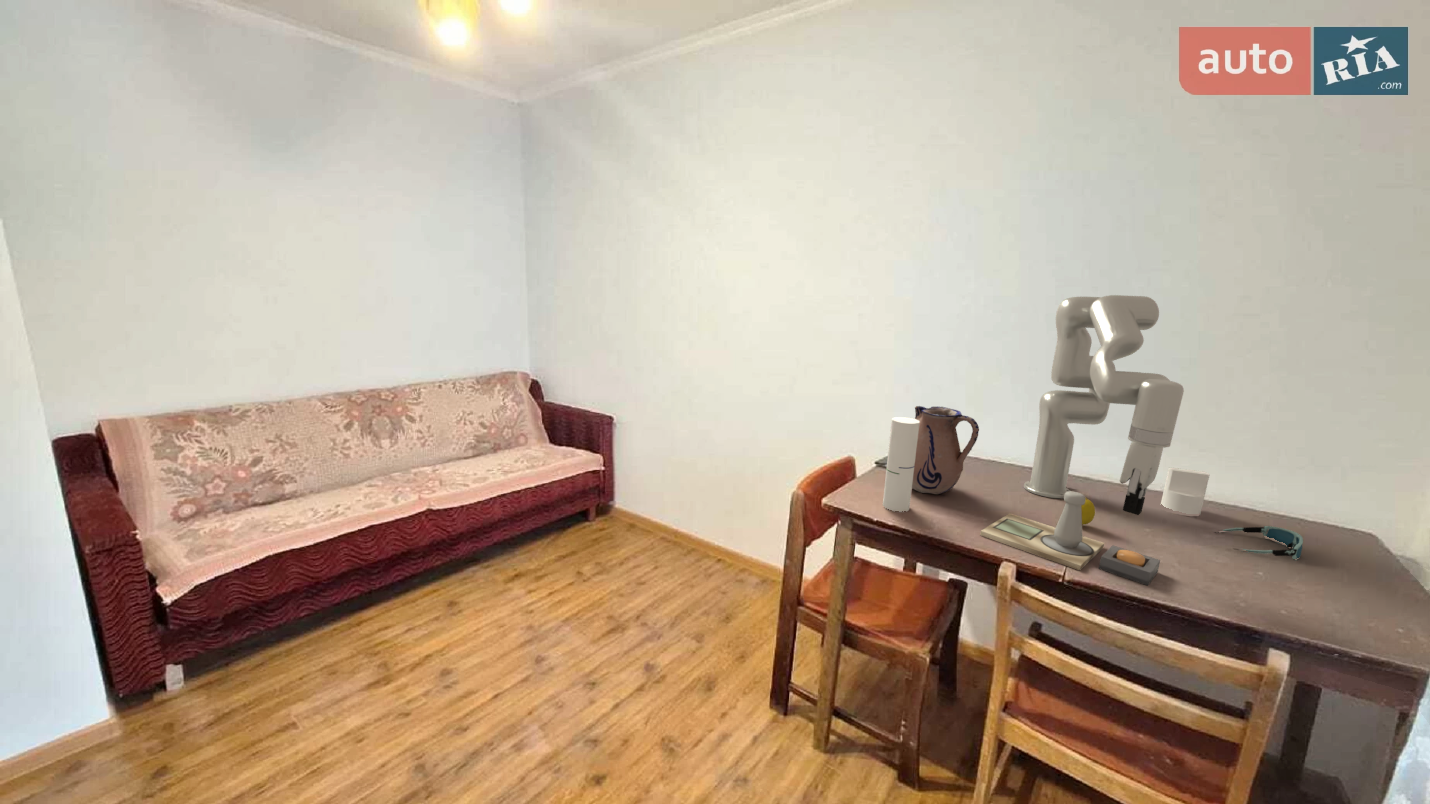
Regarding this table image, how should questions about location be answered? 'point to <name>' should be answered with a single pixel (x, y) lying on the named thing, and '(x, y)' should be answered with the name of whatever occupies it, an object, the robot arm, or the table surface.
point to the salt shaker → (1070, 521)
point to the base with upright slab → (1185, 490)
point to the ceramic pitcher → (939, 449)
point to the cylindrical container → (900, 463)
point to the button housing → (1129, 566)
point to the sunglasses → (1280, 535)
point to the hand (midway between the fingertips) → (1131, 511)
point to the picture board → (1041, 541)
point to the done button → (1131, 557)
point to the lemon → (1087, 511)
